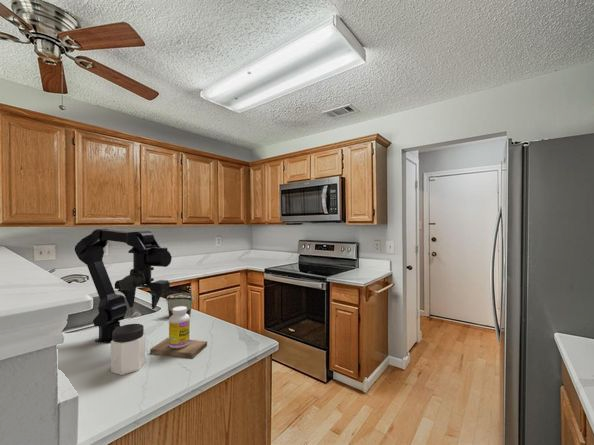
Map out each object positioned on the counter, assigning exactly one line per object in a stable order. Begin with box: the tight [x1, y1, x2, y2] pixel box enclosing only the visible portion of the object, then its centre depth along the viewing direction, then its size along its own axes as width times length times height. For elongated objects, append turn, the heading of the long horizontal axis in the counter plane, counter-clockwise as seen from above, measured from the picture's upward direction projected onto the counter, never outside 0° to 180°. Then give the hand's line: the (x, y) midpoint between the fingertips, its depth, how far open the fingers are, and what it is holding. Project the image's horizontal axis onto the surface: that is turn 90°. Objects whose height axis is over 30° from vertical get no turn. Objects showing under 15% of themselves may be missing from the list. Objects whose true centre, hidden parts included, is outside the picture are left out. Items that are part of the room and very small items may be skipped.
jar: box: [110, 323, 146, 376], centre depth 84 cm, size 9×8×12 cm
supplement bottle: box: [168, 306, 191, 348], centre depth 96 cm, size 7×7×13 cm
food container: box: [165, 292, 195, 319], centre depth 129 cm, size 12×6×10 cm, turn 92°
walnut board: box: [149, 337, 208, 359], centre depth 96 cm, size 16×9×2 cm, turn 80°
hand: (142, 308), depth 100 cm, fingers open, 9 cm apart
